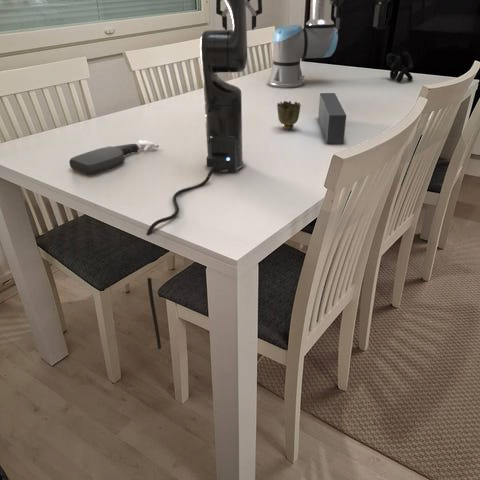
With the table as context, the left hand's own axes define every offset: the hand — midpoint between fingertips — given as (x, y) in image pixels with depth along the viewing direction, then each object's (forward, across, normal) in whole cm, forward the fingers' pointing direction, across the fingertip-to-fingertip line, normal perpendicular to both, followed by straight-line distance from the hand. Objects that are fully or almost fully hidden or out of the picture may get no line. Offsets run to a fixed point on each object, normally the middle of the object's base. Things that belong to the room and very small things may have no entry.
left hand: (239, 29), depth 141 cm
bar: (+28, +29, -13) cm, 43 cm away
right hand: (+1, +38, +7) cm, 39 cm away
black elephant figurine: (+28, +70, +56) cm, 94 cm away
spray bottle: (+29, -33, -38) cm, 58 cm away
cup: (+28, +16, -12) cm, 35 cm away
